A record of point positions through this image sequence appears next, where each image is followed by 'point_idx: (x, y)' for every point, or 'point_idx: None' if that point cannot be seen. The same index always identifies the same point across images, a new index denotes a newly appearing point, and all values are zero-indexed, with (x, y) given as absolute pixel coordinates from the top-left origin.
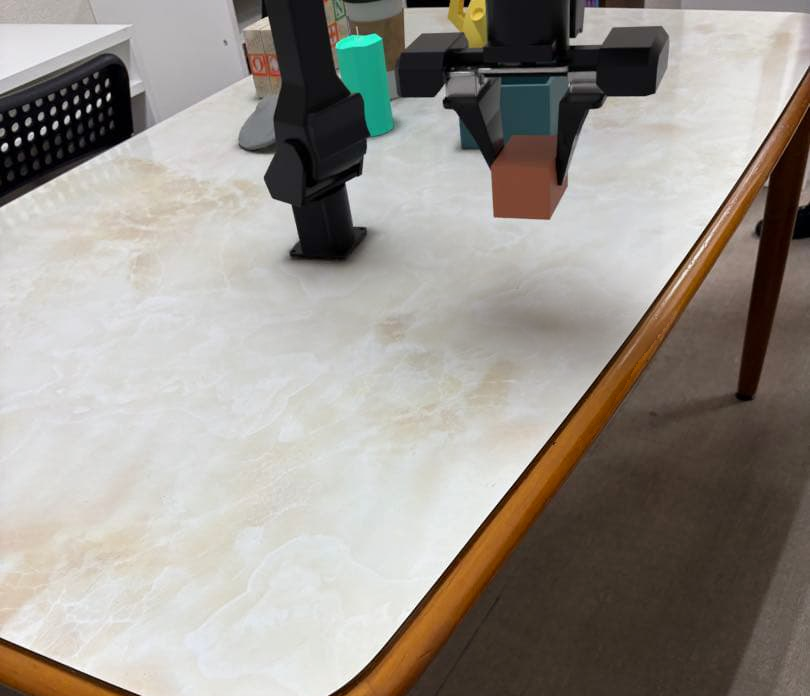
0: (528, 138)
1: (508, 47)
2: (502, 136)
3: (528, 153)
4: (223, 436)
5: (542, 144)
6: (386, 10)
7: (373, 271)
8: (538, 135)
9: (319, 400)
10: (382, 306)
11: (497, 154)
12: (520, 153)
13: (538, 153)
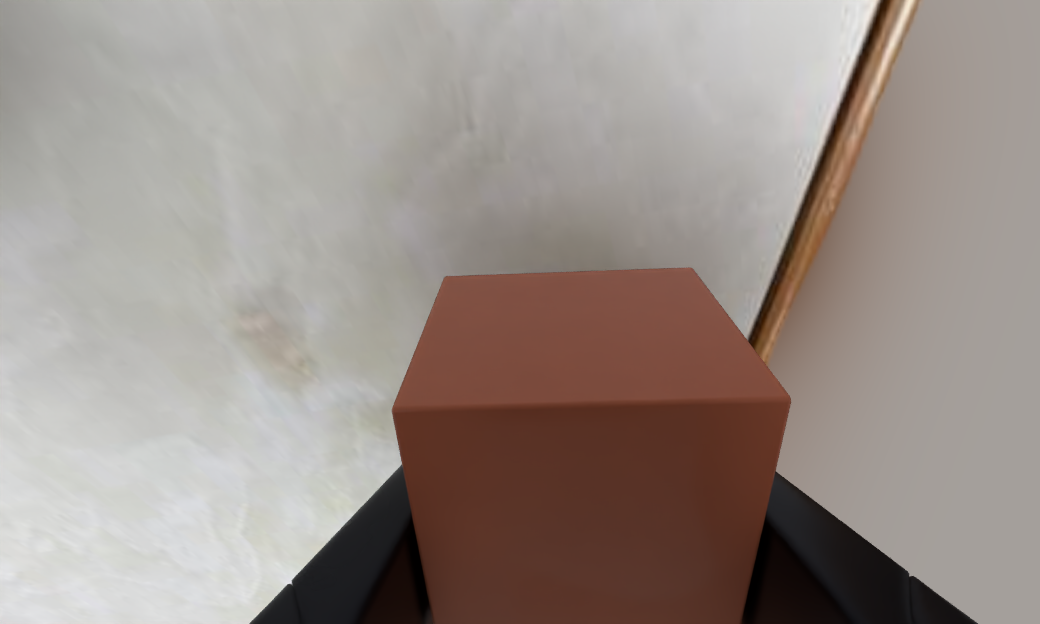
0: (525, 457)
1: None
2: (388, 581)
3: (586, 607)
4: (218, 604)
5: (638, 517)
6: None
7: (38, 103)
8: (579, 411)
9: (291, 530)
10: (192, 267)
11: (425, 622)
12: (543, 608)
13: (640, 602)
